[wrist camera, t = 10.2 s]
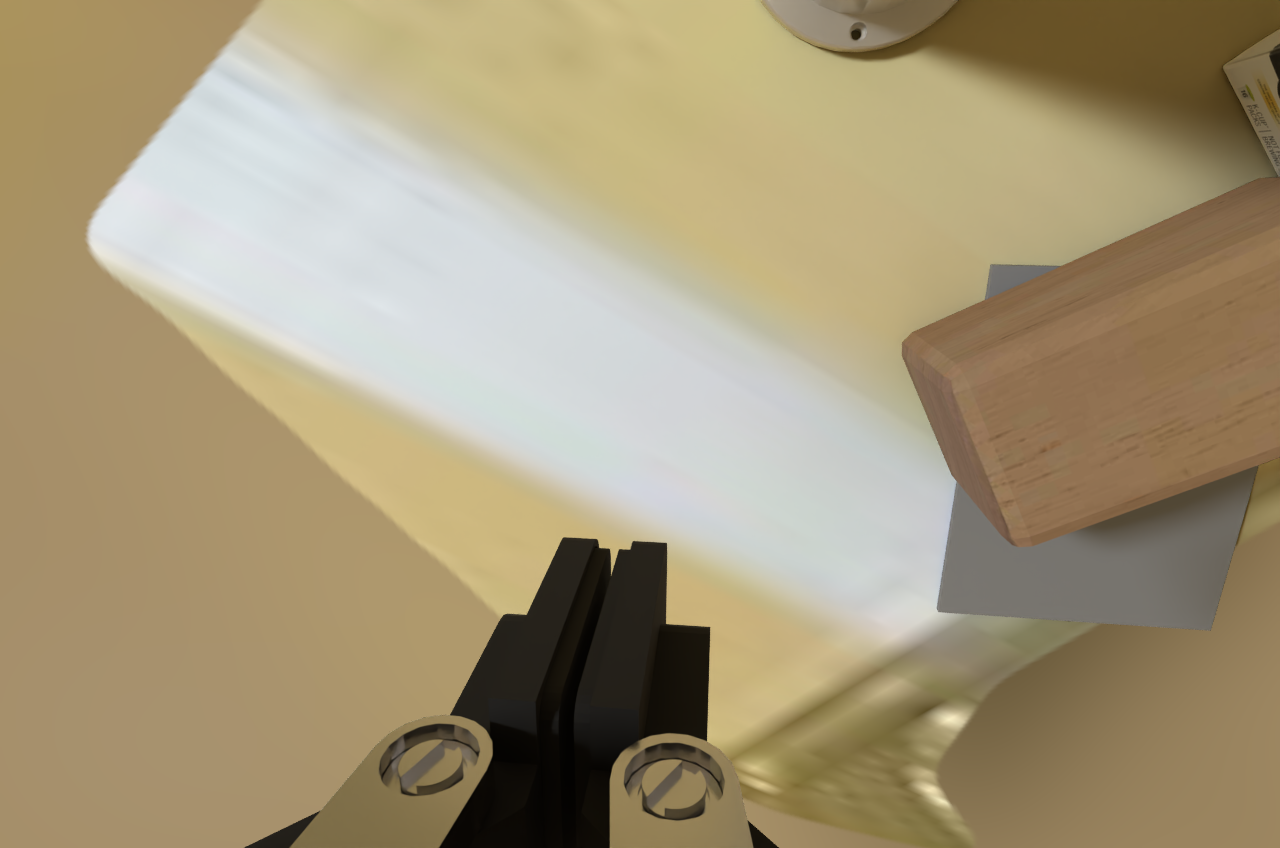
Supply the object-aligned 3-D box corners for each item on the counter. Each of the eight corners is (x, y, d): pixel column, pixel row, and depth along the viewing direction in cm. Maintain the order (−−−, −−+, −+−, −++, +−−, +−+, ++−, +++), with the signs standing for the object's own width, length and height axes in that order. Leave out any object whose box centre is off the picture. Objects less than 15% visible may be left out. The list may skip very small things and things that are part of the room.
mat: (990, 264, 40) (993, 265, 40) (1309, 271, 39) (1314, 272, 38) (936, 608, 47) (938, 612, 47) (1206, 626, 45) (1210, 630, 45)
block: (952, 482, 44) (1313, 342, 39) (1015, 561, 35) (1500, 388, 30) (891, 336, 42) (1266, 169, 37) (941, 378, 32) (1452, 160, 28)
